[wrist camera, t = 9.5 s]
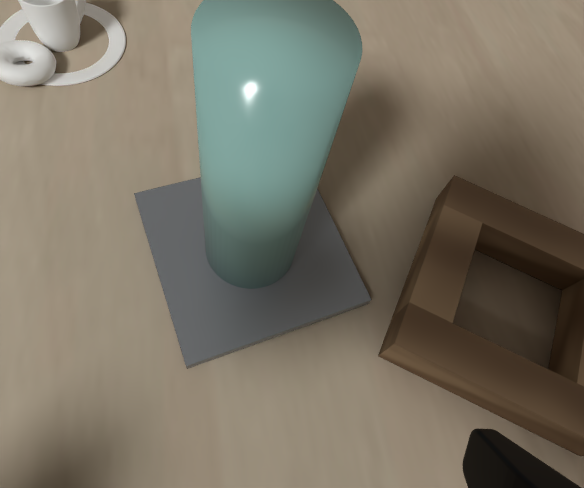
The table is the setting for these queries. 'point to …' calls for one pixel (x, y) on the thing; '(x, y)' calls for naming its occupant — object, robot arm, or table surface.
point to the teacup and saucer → (54, 42)
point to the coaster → (235, 300)
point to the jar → (266, 124)
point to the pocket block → (477, 350)
